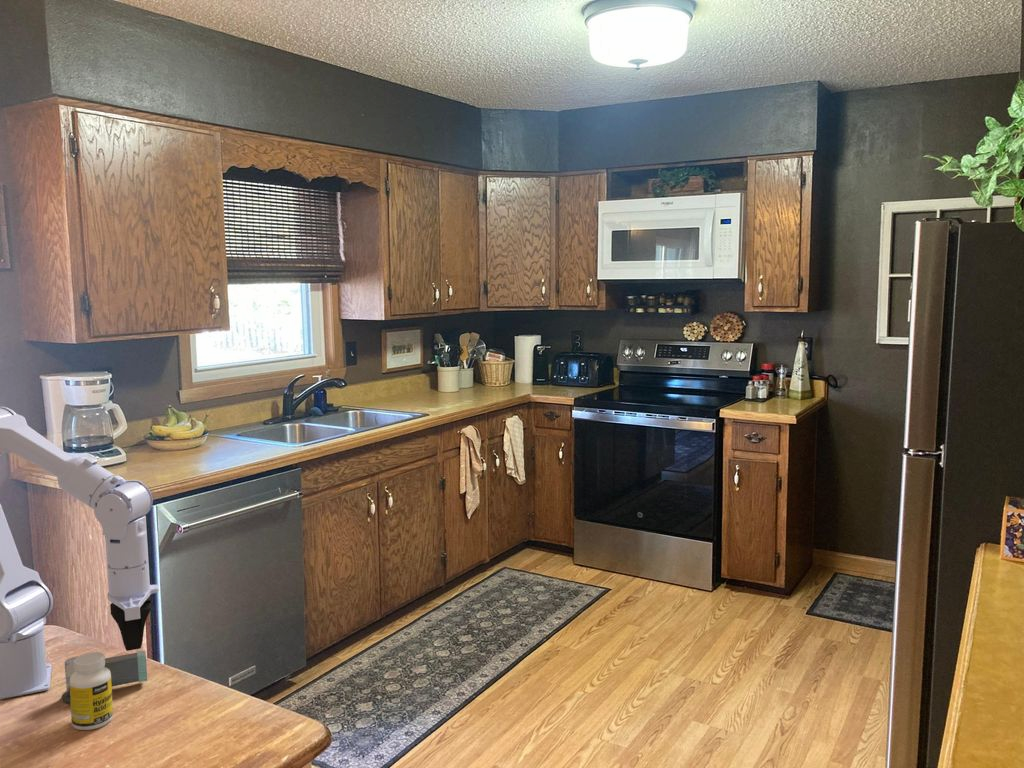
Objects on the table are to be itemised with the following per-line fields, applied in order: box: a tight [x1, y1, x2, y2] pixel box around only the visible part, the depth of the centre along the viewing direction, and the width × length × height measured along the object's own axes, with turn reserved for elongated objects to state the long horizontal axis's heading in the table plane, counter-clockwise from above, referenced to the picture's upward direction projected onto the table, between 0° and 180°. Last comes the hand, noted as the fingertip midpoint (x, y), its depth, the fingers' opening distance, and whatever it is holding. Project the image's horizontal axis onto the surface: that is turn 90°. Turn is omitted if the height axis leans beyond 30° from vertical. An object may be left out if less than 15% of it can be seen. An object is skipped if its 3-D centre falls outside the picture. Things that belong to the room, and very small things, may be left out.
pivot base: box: [61, 690, 71, 705], centre depth 130 cm, size 4×4×1 cm
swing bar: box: [64, 649, 148, 696], centre depth 131 cm, size 11×3×5 cm, turn 117°
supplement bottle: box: [70, 651, 114, 731], centre depth 122 cm, size 5×5×10 cm
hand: (133, 648), depth 129 cm, fingers closed
